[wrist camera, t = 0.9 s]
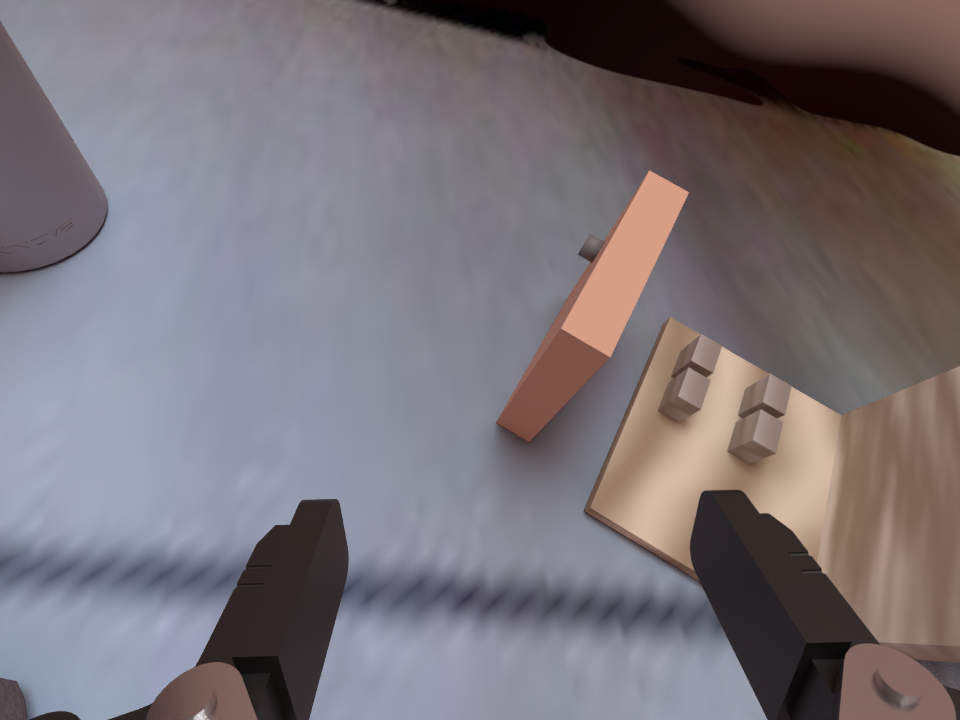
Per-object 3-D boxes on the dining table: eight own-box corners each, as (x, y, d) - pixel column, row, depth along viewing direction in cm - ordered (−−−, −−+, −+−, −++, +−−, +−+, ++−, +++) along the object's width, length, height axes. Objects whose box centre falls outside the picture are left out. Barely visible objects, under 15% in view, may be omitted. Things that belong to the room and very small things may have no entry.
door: (482, 414, 32) (540, 316, 21) (558, 287, 38) (633, 161, 27) (528, 442, 32) (610, 357, 21) (597, 310, 38) (688, 192, 27)
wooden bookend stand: (583, 510, 30) (881, 370, 13) (663, 323, 38) (917, 77, 21) (814, 651, 29) (1471, 704, 12) (848, 430, 37) (1279, 267, 20)
